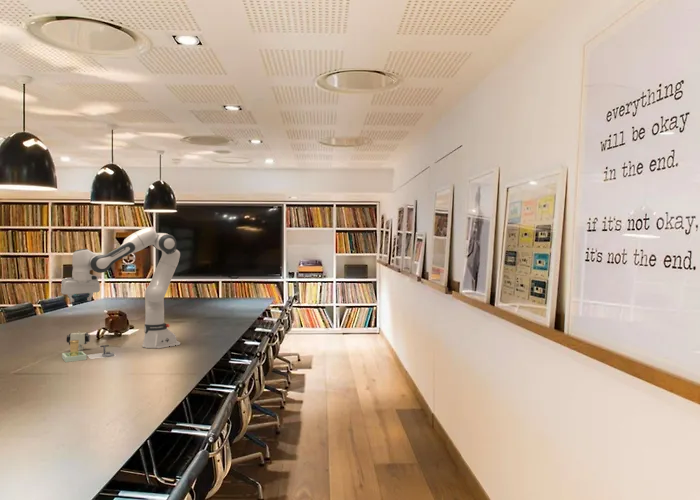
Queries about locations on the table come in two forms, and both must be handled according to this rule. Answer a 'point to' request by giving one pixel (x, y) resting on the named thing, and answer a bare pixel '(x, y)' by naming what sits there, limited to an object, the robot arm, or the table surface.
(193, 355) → the table surface
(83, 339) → the pneumatic valve
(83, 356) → the tray
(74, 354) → the amber drinking glass
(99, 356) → the crank jig
